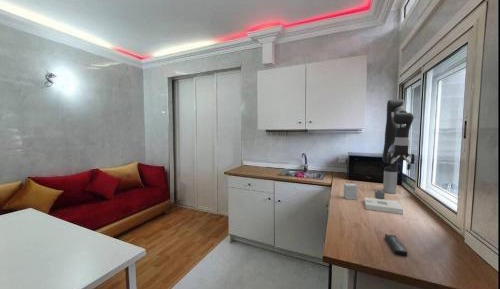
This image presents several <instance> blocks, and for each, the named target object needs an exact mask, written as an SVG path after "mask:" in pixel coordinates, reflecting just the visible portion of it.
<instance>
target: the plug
mask: <svg viewBox="0 0 500 289" xmlns="http://www.w3.org/2000/svg"><path fill="white" fill-rule="evenodd" d="M385 193H386V192H384V191H383V190H382V189H378V190H377V189H374V198H375V199H383V200H385Z"/></svg>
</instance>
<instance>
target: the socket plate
mask: <svg viewBox="0 0 500 289" xmlns="http://www.w3.org/2000/svg"><path fill="white" fill-rule="evenodd" d="M363 203H364V206H365V209H366V210H369V211H378V212H383V213H392V214H398V215H399V214H400V215H403V214H404V209H403V207H402V206H401V204H400V203H399V201H398V200H391V199H390V200H389V199H376V198H375V197H374V198H372V197H364V198H363Z"/></svg>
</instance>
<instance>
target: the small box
mask: <svg viewBox="0 0 500 289" xmlns="http://www.w3.org/2000/svg"><path fill="white" fill-rule="evenodd" d="M343 198H345V200H358V185H357V184H356V183H343Z"/></svg>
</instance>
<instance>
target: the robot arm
mask: <svg viewBox="0 0 500 289" xmlns="http://www.w3.org/2000/svg"><path fill="white" fill-rule="evenodd" d="M406 107H407V106H406V101H405V100H404V99H400V98H399V99H389V100H388V101H387V103H386V122H385V131H384V143H383V144H384V145H383V151H382V162H383V163H386V164H388V163H389V164H390V165H387V166H384V168H383V180H382V181H383V184H382V186H383V187H382V191H384V193H386V194H387V193H388V194H397V188H398V187H397V186H398V185H397V184H398V171H399V169H398V167H399V161H405V162H406V163H407V164H406V170H407V171H410V170H411V166H412V164H415V154H414V153H409V146H410V140H409V139H410V130H411V126H412V124H413V122H414V118H415V116H414V113H412V112H408V111H407V108H406ZM392 113H393V114H392ZM399 125H405V126H402V127H400V126H399ZM393 144H394V145H393ZM392 146H394V148H393V151H389V150H390V148H391V147H392ZM409 157H410V161H409V159H408V158H409Z"/></svg>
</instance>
